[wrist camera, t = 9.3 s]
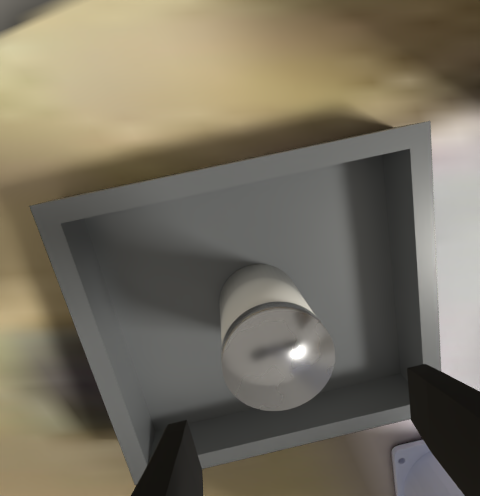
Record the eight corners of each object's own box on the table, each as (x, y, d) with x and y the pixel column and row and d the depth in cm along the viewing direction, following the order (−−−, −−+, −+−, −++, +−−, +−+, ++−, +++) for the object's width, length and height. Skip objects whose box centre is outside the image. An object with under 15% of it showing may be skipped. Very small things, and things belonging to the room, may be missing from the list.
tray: (412, 378, 22) (442, 411, 19) (145, 441, 21) (135, 484, 19) (394, 127, 18) (430, 121, 15) (60, 198, 17) (29, 206, 14)
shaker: (303, 327, 20) (341, 397, 14) (228, 344, 20) (234, 421, 14) (290, 255, 18) (327, 298, 13) (210, 273, 18) (209, 325, 13)
